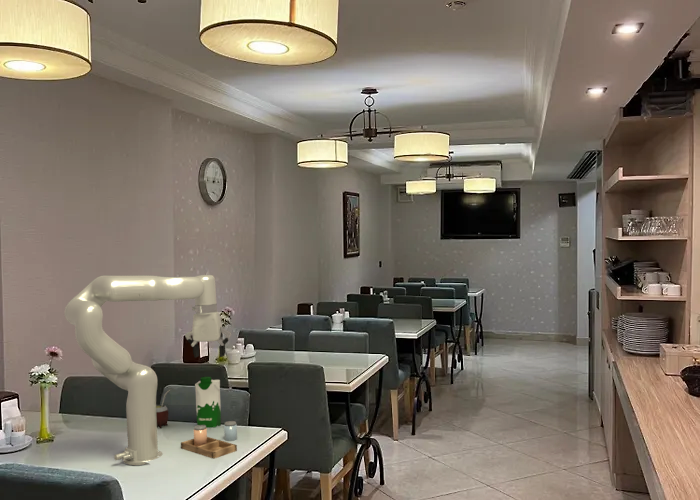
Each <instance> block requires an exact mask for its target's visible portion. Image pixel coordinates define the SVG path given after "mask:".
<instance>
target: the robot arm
mask: <svg viewBox="0 0 700 500" xmlns="http://www.w3.org/2000/svg"><path fill="white" fill-rule="evenodd" d="M216 289H217V288H216V278H215V276H214V275H212V274H201V275H195V276H179V277H178V276H176V277H175V276H174V277H172V276H169V277H168V276H159V275H101V276H100V275H99V276H98V277H96V278H94V279H93V280H92V281H91V282H90V283H89V284H88V285H87V286H85V287H84V288H83V289H82V290H81V291H80V292H79V293H77V294H76V295H75V296H73V298H72V299H71V300H70V301H68V303H67V304H66V306H65V308H64V314H63V315H64V317H65V320H66V321H67V322H68V323H69V324H71V325H73V326H74V327H75V328H74V334H75V340H76V343H77V345H78V347H79V348H80V350H82V351H83V352H84V353H85V354H86V355H88V357H90V358H91V363H92V365H93V367H94V369H96V370H97V371H98V372H99V374H101V375H103V376H104V377H105V378H107V379H108V380H109V381H110V382H112V383H113V384H114V385H116V387H118V388H120V389H122V390H125V391H127V393H128V394H127V398H126V404H125V405H126V407H125V411H126V412H125V414H126V429H127V430H126V431H127V434H126V435H127V436H126V437H127V447H124V451H122V452H120V453H116V454H114V456H113V458H114V460H115V461H118V460H122V461H123V463H124V464H125V465H127V466H128V465H129V466H144V465H150V463H149V462H150V461H154V460H156V459H159V458H161V457H162V456H163V454H164V453H163V451H160V450H159V446H158V427H157V417H156V405H157V390H158V376H157V374H156V371H154V369H153V368H152V367H150V366H148V365H145V364H141V363H137V362H135V361H133V360H132V356H131V354H130V352H129V351H128V350H127V349H126V348H124V347H123V346H122V345H120V344H119V343H118V342H116V341H115V340H114V339H113V338H112V337H110V336H109V335H108V334H107V333H106V332H105V331H104V328H103V319H104V315H103V312H104V311H103V309H102V307H103V306H104V305H105V303H106V302H113V303H116V302H118V303H119V302H146V301H151V302H152V301H153V302H154V301H163V300H164V301H169V300H194V303H195V304H194V306H192V307H191V310H192V311H195V313H193V318H192V327H191V328H192V330H190V331H189V332H187V333H185V334H184V336H185V339H186V340H187V342H188V343H189V344H190V346H191V347H192V355H193V357H194V358H195V359H196V358H198V357H200V355H201V354H200V345H199V342H200V343H201V342H202V343H203V342H217V343H218V344H219V347H218V348H219V349H218V350H219V351H218V352H219V357H220V358H223V357H224V356H226V351H227V350H226V344H227V343H228V342H229V341H230V338H231V336H232V332H231V331H229V330H227V329H225V328H223V323H222V319H221V318H222V317H221V315H220V312H218V306H217V290H216ZM224 335H225V338H223V337H224Z"/></svg>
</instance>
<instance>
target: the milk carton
mask: <svg viewBox="0 0 700 500" xmlns="http://www.w3.org/2000/svg"><path fill="white" fill-rule="evenodd" d="M194 387H195V388H194V389H195V411H196V412H195V413H196V426H197V425H206V428H207V429H208V428H210V429H211V428H217V427H220V426H221V423H222V422H221V420H222V419H221V417H222V414H221V413H222V410H221V408H222V407H221V388H220V387H221V380H220V379H212V377H211V376H202V377H200V380H199V381H198V382H196V383H195V384H194Z"/></svg>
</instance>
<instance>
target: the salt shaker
mask: <svg viewBox="0 0 700 500" xmlns="http://www.w3.org/2000/svg"><path fill="white" fill-rule="evenodd" d="M223 429H224V430H223V431H224V433H223V434H224V442H234V441H237V440H238V431H237V430H238V426H237V422H236V421H234V420H229V421H225V422H224V425H223Z"/></svg>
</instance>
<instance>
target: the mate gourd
mask: <svg viewBox="0 0 700 500" xmlns="http://www.w3.org/2000/svg"><path fill="white" fill-rule="evenodd" d="M171 390H172V389H171V388H170V389H168V390H167V391H165V393H164V394H163V397H162V402H161V404H156V417H157V428H159V429H162V428H163V427H168V426H169V425H168V422H169V413H170V412H169V408H168V407H167V406H166V405H165V404H164V403H165V400H166V397H167V394H169V392H170V391H171Z"/></svg>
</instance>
